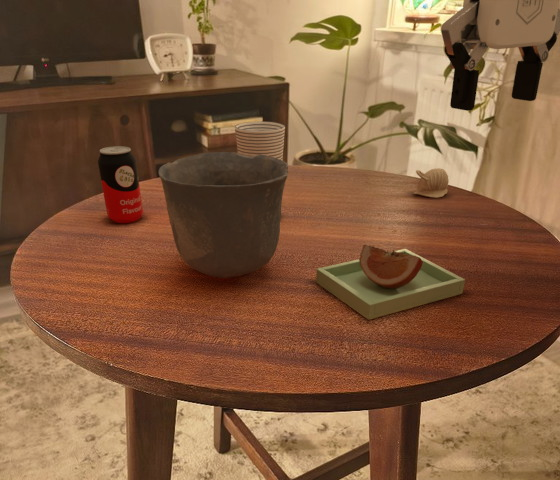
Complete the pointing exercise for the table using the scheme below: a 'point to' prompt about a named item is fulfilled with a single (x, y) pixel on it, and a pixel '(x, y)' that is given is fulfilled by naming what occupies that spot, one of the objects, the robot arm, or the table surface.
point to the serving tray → (382, 301)
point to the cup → (260, 139)
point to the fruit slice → (389, 267)
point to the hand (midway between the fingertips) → (493, 104)
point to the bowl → (225, 210)
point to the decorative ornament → (432, 183)
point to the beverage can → (120, 184)
